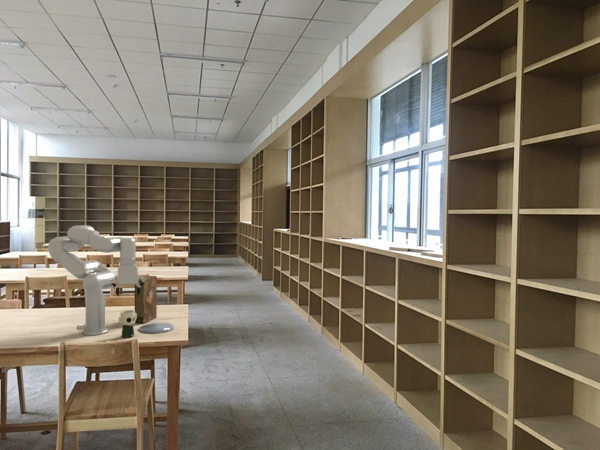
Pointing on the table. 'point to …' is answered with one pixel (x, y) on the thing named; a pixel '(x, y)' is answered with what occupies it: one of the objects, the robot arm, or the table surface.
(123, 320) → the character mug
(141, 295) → the book
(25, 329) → the table surface
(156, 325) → the saucer
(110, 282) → the robot arm
